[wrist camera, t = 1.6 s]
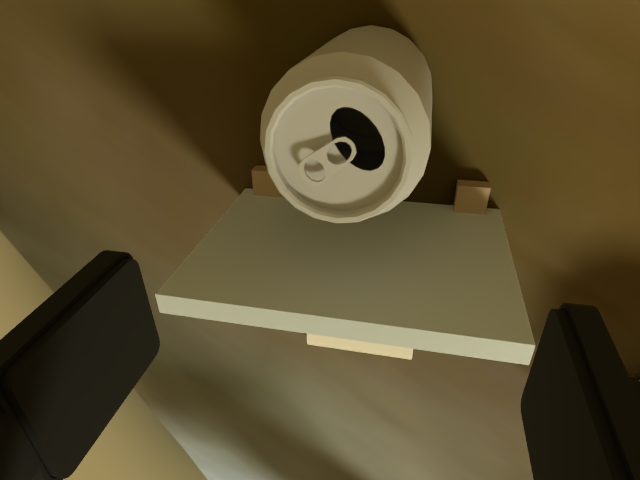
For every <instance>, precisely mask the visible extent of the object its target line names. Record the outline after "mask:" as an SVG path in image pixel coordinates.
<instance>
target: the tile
mask: <svg viewBox="0 0 640 480" xmlns="http://www.w3.org/2000/svg"><path fill="white" fill-rule="evenodd" d="M307 344H309V345H316V346H323V347H329V348H336V349H343V350H350V351H357V352H363V353H370V354H377V355H384V356H391V357H397V358H404V359H411V360H412V354H413V349H412V348H405V347H398V346H391V345H384V344H377V343H370V342H363V341H356V340H349V339H342V338H335V337H328V336H321V335H314V334H307Z"/></svg>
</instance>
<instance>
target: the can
mask: <svg viewBox="0 0 640 480" xmlns="http://www.w3.org/2000/svg"><path fill="white" fill-rule="evenodd" d="M431 126H432V80H431V73H430V70H429V68H428V65H427V63H426V60H425V58H424V55H423V54H422V53H421V52H420V50H419V49H418V48H417V47H416V46H415V45H414V43H413V42H412V41H411V40H410V39H409V38H407V37H405V36H403V35H402V34H400V33H398V32H397V31H395V30H393V29H390V28H385V27H379V26H373V25H369V26H364V27H358V28H352V29H350V30H348V31H346V32H344V33H342V34H341V35H339V36H337V37H335V38H333V39H332V40H330V41H329V42H328V43H326V44H325V45H323V46H322V47H321V48H319V49H318V50H316V51H315V52H314V53H312V54H311V55H309V56H308V57H306V58H305V59H304V60H302V61H301V62H299V63H298V64H297V65H295V66H294V67H292V68H291V69H289V70H288V72H287V73H286V74H285V75H284V76H283V77H282V78H281V80H280V81H279V82H278V83H277V84H276V85H275V86H274V88H273V89H272V90H271V92H270V95H269V97H268V100H267V102H266V104H265V107H264V109H263V112H262V114H261V130H260V143H261V147H262V151H263V155H264V159H265V163H266V166H267V171H268V174H269V176H270V177H271V179H272V181H273V182H274V184H275V186H276V188H277V189H278V191H279V193H280V194H281V195H282V196H284V197H285V198H286V199H287V200H288V201H289V202H290V203H291V204H292V205H293V206H294V207H295V208H297V209H298V210H300V211H302V212H304V213H306V214H308V215H309V216H311V217H313V218H315V219H320V220H324V221H328V222H333V223H351V222H360V221H363V220H365V219H368V218H371V217H374V216H376V215H379V214H382V213H385V212H387V211H390V210H391V209H392V208H394V207H395V206H396V205H398V204H399V203H400V202H402V201H403V200H404V199H405V198H407V197H408V196H409V195H410V194H411V192H412V191H413V189H414V188H415V186H416V185H417V184H418V182H419V181H420V179H421V178H422V176H423V175H424V172H425V168H426V165H427V161H428V157H429V154H430V150H431Z"/></svg>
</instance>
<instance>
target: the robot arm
mask: <svg viewBox="0 0 640 480" xmlns="http://www.w3.org/2000/svg"><path fill="white" fill-rule="evenodd" d="M159 346H160V341H159V336H158V333H157V329H156V326H155V322H154V318H153V315H152V311H151V308H150V304H149V300H148V297H147V293H146V290H145V286H144V282H143V279H142V275H141V272H140V268H139V265H138V262H137V261H136V260H134V259H133V257H132V256H131V255H130V254H129V253H126V252H117V251H108V250H106V251H102V252H101V253H99V254H98V255H97V256H96V257H95V258H94V259H93V260H91V261H90V262H89V263H88V264H87V265H86V266H84V267H83V268H82V269H81V270H80V271H79V272H78V273H76V274H75V275H74V276H73V277H72V278H71V279H70V280H68V281H67V282H66V283H65V284H64V285H63V286H62V287H60V288H59V289H58V290H57V291H56V292H55V293H54V294H53V295H51V296H50V297H49V298H48V299H47V300H46V301H44V302H43V303H42V304H41V305H40V306H39V307H38V308H37V309H35V310H34V311H33V312H32V313H31V314H30V315H28V316H27V317H26V318H25V319H24V320H23V321H22V322H21V323H19V324H18V325H17V326H16V327H15V328H14V329H12V330H11V331H10V332H9V333H8V334H7V335H5V337H3V338H2V339H1V340H0V480H63V479H65V478H68V477H69V476H70V475H71V474H72V473H73V472H74V471H75V470H76V468H77V467H78V465H79V464H80V462H81V461H82V460H83V458H84V457H85V455H86V454H87V452H88V451H89V450H90V448H91V447H92V446H93V444H94V443H95V441H96V440H97V438H98V437H99V436H100V434H101V433H102V431H103V430H104V428H105V427H106V426H107V424H108V423H109V421H110V420H111V418H112V417H113V416H114V414H115V413H116V412H117V410H118V409H119V407H120V406H121V404H122V403H123V402H124V400H125V399H126V397H127V396H128V394H129V393H130V391H131V390H132V389H133V388H134V386H135V385H136V383H137V382H138V380H139V379H140V378H141V376H142V375H143V373H144V372H145V371H146V369H147V368H148V366H149V365H150V363H151V362H152V361H153V359H154V358H155V356H156V355H157V353H158V350H159ZM521 414H522V420H523V425H524V430H525V436H526V441H527V446H528V452H529V457H530V462H531V468H532V473H533V478H534V480H640V381H639V380H637V379H632V378H629V376H628V373H627V371H626V369H625V367H624V365H623V363H622V360H621V358H620V356H619V354H618V352H617V350H616V347H615V345H614V343H613V341H612V339H611V337H610V334H609V332H608V330H607V328H606V326H605V324H604V322H603V319H602V317H601V315H600V313H599V311H598V309H597V308H596V307H594V306H587V305H579V304H570V303H563V304H562V305H561V306H560V308H559V309H551V310H550V312H549V315H548V318H547V321H546V324H545V327H544V330H543V333H542V336H541V339H540V342H539V345H538V348H537V352H536V355H535V358H534V361H533V364H532V367H531V370H530V373H529V376H528V379H527V382H526V385H525V389H524V392H523V395H522V399H521Z"/></svg>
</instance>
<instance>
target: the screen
mask: <svg viewBox="0 0 640 480" xmlns="http://www.w3.org/2000/svg"><path fill="white" fill-rule="evenodd" d="M251 172H252V182H253V189H248V188H245V190H244V191H243V192H242V193H241V194H240V195H239V197H238V198H237V199H236V200H235V201H234V202H233V204H232V205H231V206H230V207H229V208H228V209H227V211H226V212H225V213H224V214H223V215H222V216H221V218H220V219H219V220H218V221H217V222H216V223H215V225H214V226H213V227H212V228H211V229H210V230H209V232H208V233H207V234H206V235H205V236H204V237H203V239H202V240H201V241H200V242H199V243H198V245H197V246H196V247H195V248H194V249H193V250H192V252H191V253H190V254H189V255H188V256H187V257H186V259H185V260H184V261H183V262H182V263H181V264H180V266H179V267H178V268H177V269H176V270H175V271H174V273H173V274H172V275H171V276H170V277H169V278H168V280H167V281H166V282H165V283H164V284H163V285H162V287H161V288H160V289H159V290H158V291H157V292H156V294H155V296H156V300H157V304H158V308H159V312H160V313H166V314H173V315H180V316H187V317H194V318H202V319H209V320H216V321H223V322H230V323H237V324H244V325H251V326H258V327H265V328H272V329H279V330H286V331H293V332H300V333H307V334H314V335H321V336H328V337H335V338H342V339H349V340H356V341H363V342H370V343H377V344H384V345H391V346H398V347H405V348H412V349H419V350H426V351H433V352H440V353H447V354H454V355H461V356H468V357H475V358H482V359H489V360H496V361H503V362H510V363H517V364H524V365H529V364H530V361H531V358H532V355H533V351H534V348H535V342H534V338H533V334H532V330H531V327H530V323H529V319H528V315H527V311H526V308H525V304H524V300H523V296H522V292H521V289H520V285H519V281H518V277H517V273H516V270H515V266H514V262H513V258H512V254H511V251H510V247H509V243H508V239H507V235H506V232H505V228H504V224H503V220H502V216H501V213H500V209H493V208H487V204H488V199H489V194H490V189H491V188H490V184H489V182H485V181H471V180H457V185H456V191H455V198H454V204H453V205H444V204H431V203H419V202H407V201H402V202H400V203H399V204H398V205H396V206H395V207H394V208H392V209H391V210H390V211H387V212H385V213H382V214H379V215H376V216H374V217H371V218H368V219H365V220H363V221H360V222H351V223H333V222H328V221H324V220H320V219H315V218H313V217H311V216H309V215H308V214H306V213H304V212H302V211H300V210H298V209H297V208H295V207H294V206H293V205H292V204H291V203H290V202H289V201H288V200H287V199H286V198H285V197H284V196H282V195H281V194H280V193H279V191H278V189H277V188H276V186H275V184H274V182H273V181H272V179H271V177H270V176H269V174H268V171H267V166H260V165H256V166H255V167H254V168H253V169H252V170H251Z"/></svg>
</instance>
